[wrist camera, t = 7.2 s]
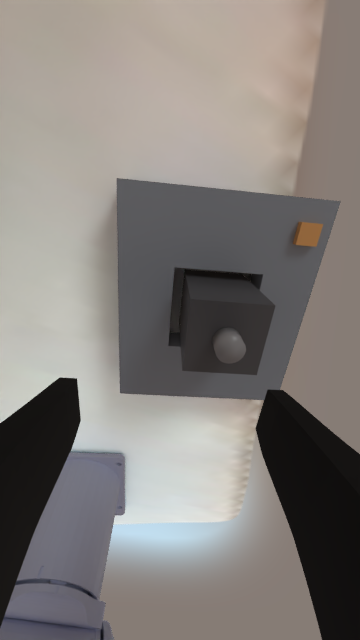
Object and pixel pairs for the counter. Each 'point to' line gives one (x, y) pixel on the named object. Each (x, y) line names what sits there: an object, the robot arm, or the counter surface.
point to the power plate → (219, 255)
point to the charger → (222, 323)
